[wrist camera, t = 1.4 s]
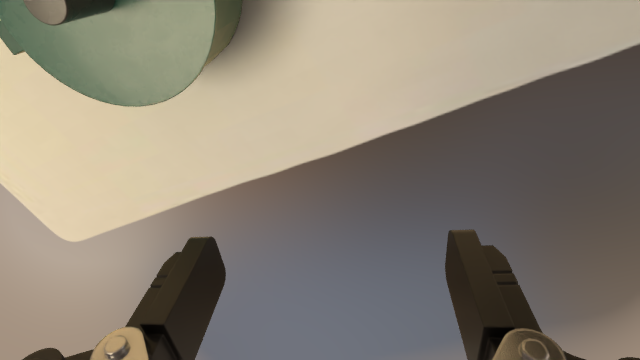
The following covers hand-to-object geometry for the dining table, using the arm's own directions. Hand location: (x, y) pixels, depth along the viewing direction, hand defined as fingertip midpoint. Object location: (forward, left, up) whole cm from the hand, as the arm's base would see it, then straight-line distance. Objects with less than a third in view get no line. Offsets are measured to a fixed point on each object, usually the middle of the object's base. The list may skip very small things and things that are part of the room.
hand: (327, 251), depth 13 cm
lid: (-8, -17, -18) cm, 26 cm away
